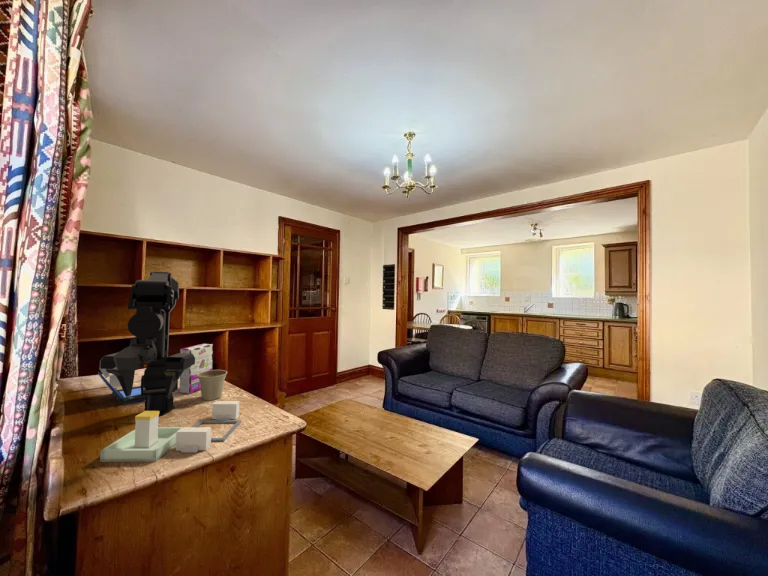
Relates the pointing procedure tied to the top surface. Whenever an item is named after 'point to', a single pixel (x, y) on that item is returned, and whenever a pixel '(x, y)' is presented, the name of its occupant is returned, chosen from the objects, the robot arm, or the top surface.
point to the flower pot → (212, 383)
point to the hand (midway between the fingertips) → (148, 396)
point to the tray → (126, 452)
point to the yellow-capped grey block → (146, 429)
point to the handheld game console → (121, 396)
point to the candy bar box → (196, 367)
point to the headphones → (207, 428)
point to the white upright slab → (111, 378)
